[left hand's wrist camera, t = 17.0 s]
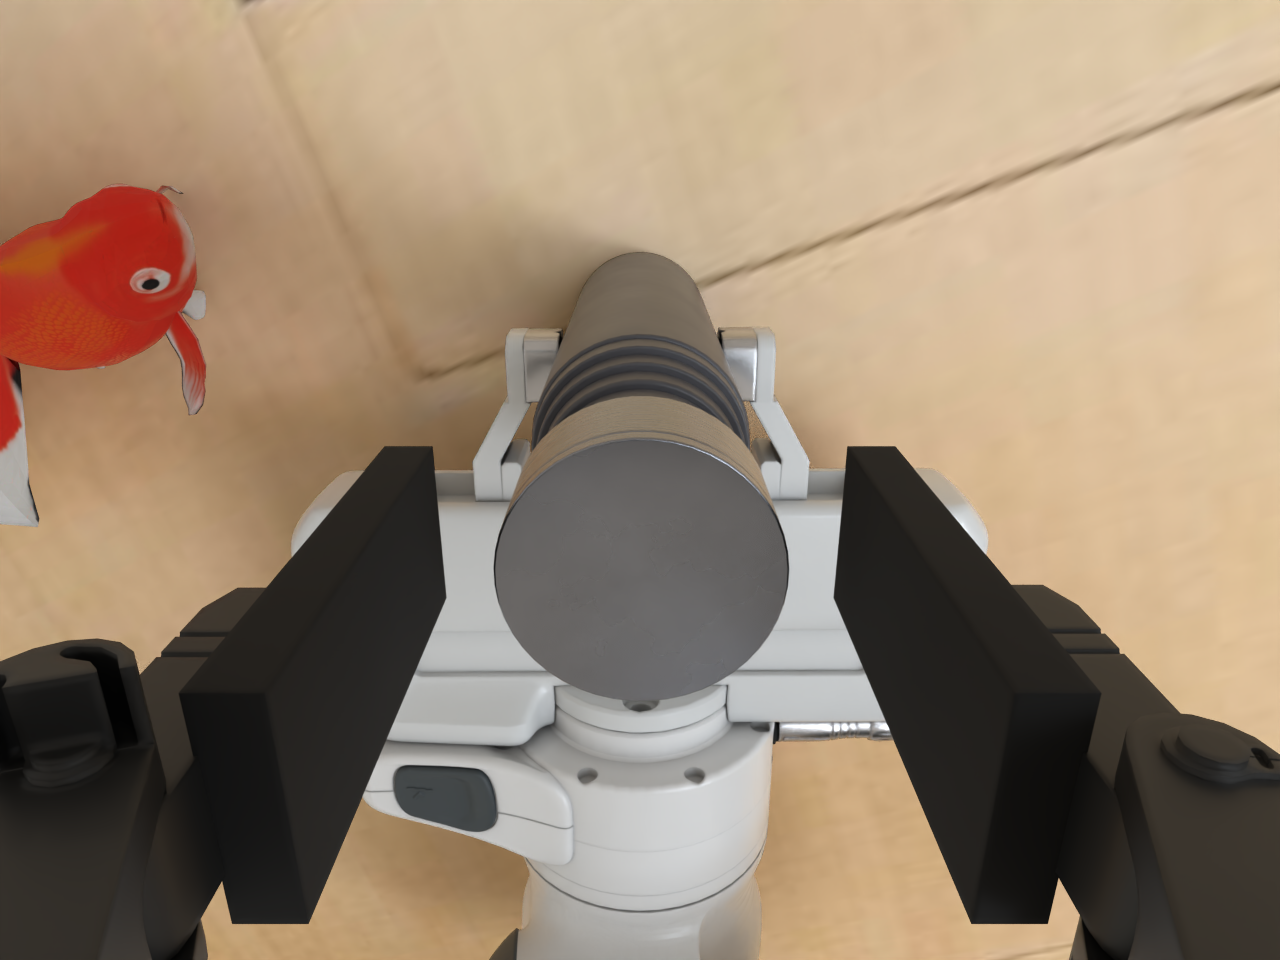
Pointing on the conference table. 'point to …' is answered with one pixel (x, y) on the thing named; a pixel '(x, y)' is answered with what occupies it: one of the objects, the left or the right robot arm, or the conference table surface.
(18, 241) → the fish
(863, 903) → the conference table surface
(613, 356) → the bottle
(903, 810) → the conference table surface
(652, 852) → the right robot arm
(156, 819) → the left robot arm
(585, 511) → the cap
